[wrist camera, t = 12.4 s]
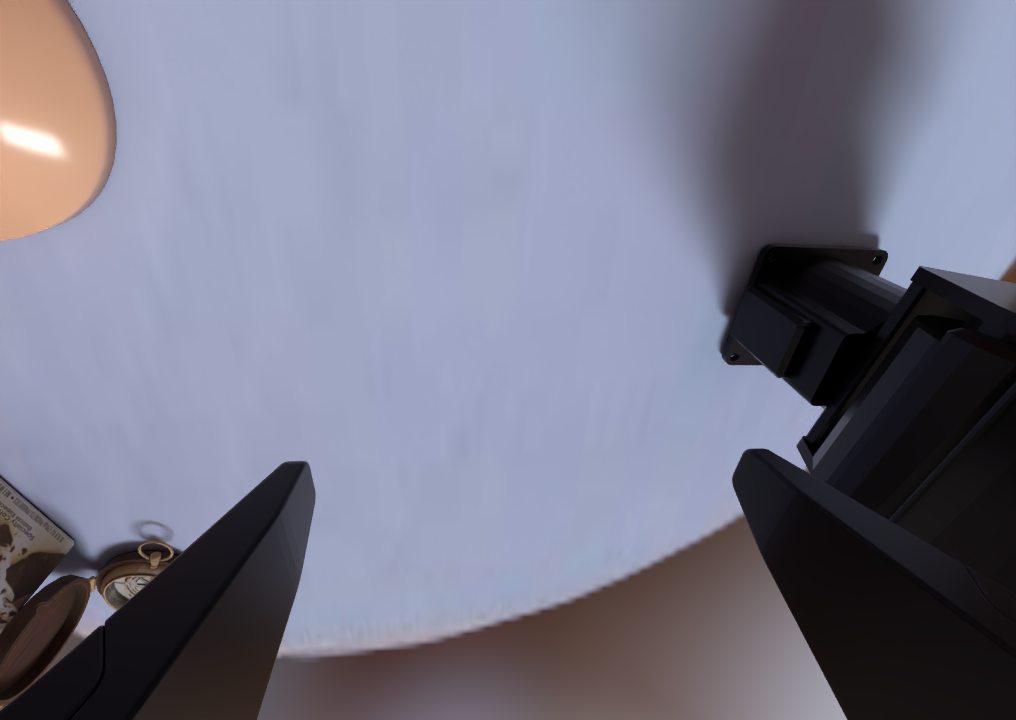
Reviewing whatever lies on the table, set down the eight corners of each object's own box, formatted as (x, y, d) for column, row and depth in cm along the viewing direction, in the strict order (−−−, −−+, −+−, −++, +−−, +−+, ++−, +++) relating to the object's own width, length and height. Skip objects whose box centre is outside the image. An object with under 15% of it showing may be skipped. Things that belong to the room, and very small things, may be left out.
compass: (210, 608, 31) (151, 737, 25) (75, 593, 29) (-27, 731, 23) (223, 537, 28) (158, 666, 22) (70, 513, 25) (-52, 651, 19)
